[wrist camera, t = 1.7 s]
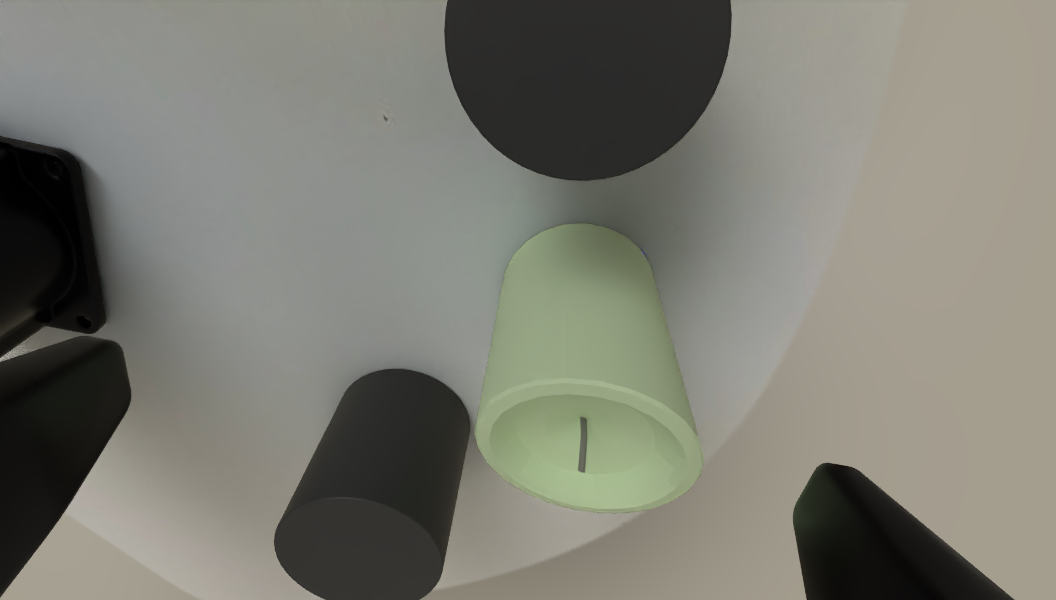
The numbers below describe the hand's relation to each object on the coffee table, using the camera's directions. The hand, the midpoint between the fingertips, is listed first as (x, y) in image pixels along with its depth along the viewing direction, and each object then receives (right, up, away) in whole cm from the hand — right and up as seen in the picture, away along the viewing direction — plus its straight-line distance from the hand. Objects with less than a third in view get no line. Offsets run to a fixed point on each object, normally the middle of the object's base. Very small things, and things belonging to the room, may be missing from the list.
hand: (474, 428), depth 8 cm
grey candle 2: (+2, +9, +8) cm, 12 cm away
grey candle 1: (-4, -3, +15) cm, 16 cm away
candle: (+2, +2, +12) cm, 13 cm away
